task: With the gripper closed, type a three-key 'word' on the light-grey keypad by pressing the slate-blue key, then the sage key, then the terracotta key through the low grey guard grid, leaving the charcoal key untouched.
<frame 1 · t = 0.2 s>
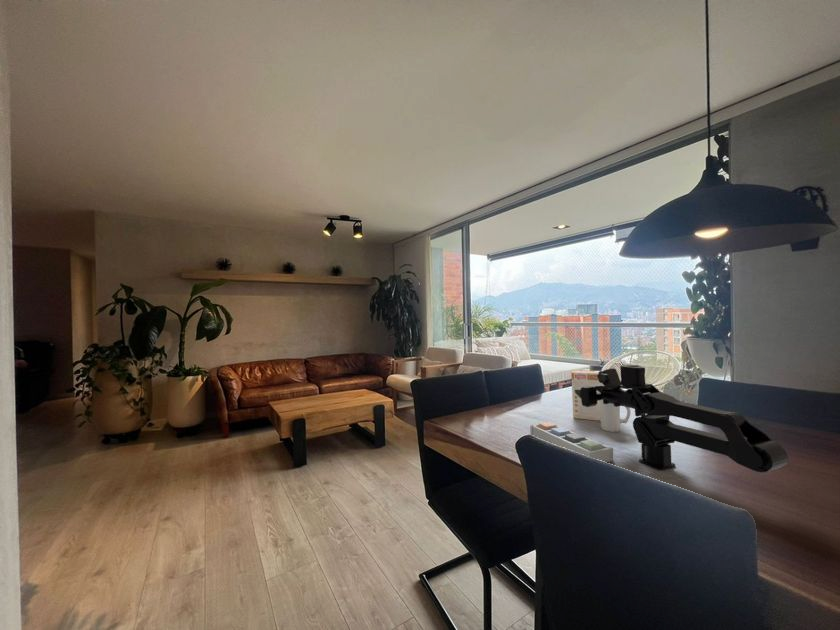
hand: (585, 389, 123), 17 cm above the table, tool horizontal, fingers open, 9 cm apart
coffeecake box: (593, 418, 143), on the table
keypad: (567, 447, 113), on the table
key blue: (560, 433, 116), point 4 cm above the table, slide at 0.0 cm
key charcoal: (575, 439, 110), point 4 cm above the table, slide at 0.0 cm
key sage: (591, 446, 104), point 4 cm above the table, slide at 0.0 cm
mug: (615, 430, 129), on the table
key terracotta: (547, 427, 123), point 4 cm above the table, slide at 0.0 cm
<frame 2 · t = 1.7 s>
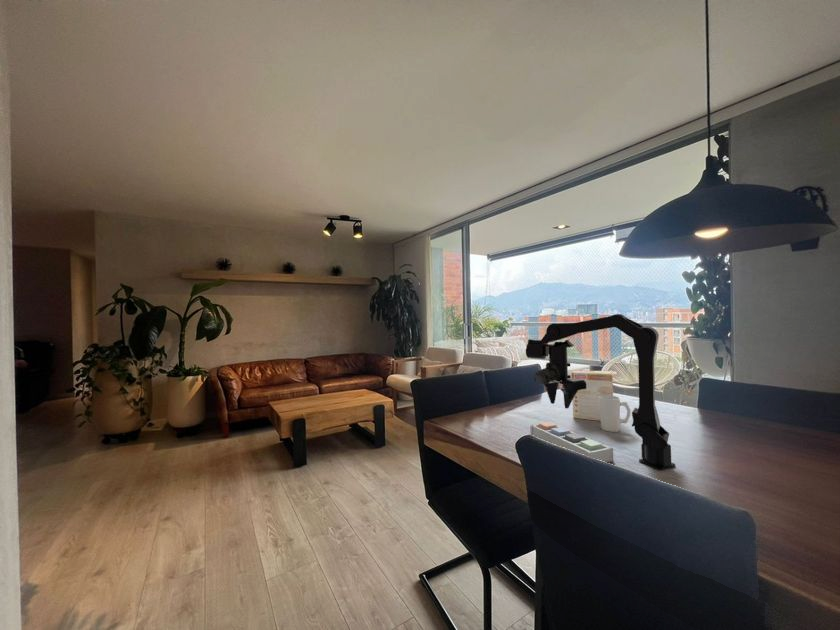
hand: (559, 405, 116), 13 cm above the table, tool pointing down, fingers open, 6 cm apart
nothing on the table moved.
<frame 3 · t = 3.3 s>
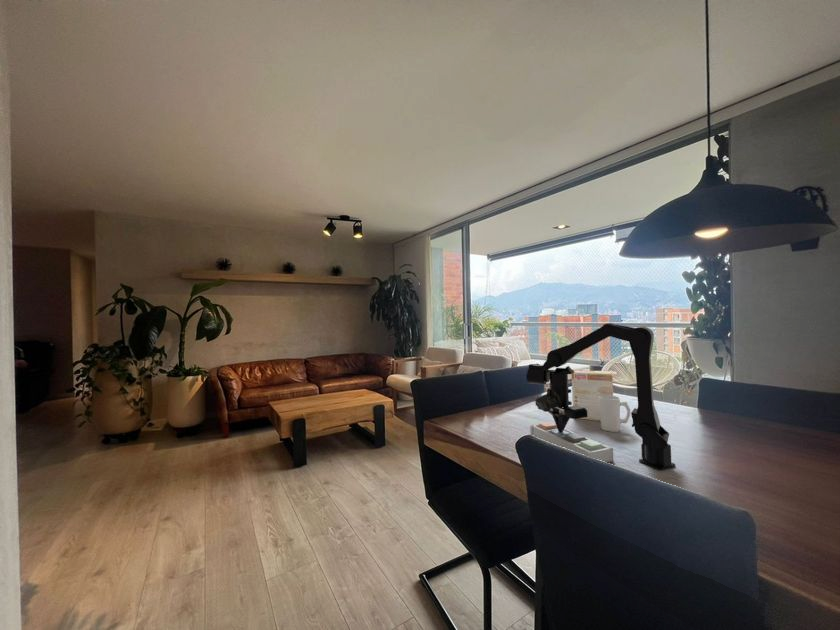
hand: (560, 432, 116), 4 cm above the table, tool pointing down, fingers closed, pressing on key blue
key blue: (560, 435, 116), point 3 cm above the table, slide at 0.8 cm, touching gripper
everything else where it was.
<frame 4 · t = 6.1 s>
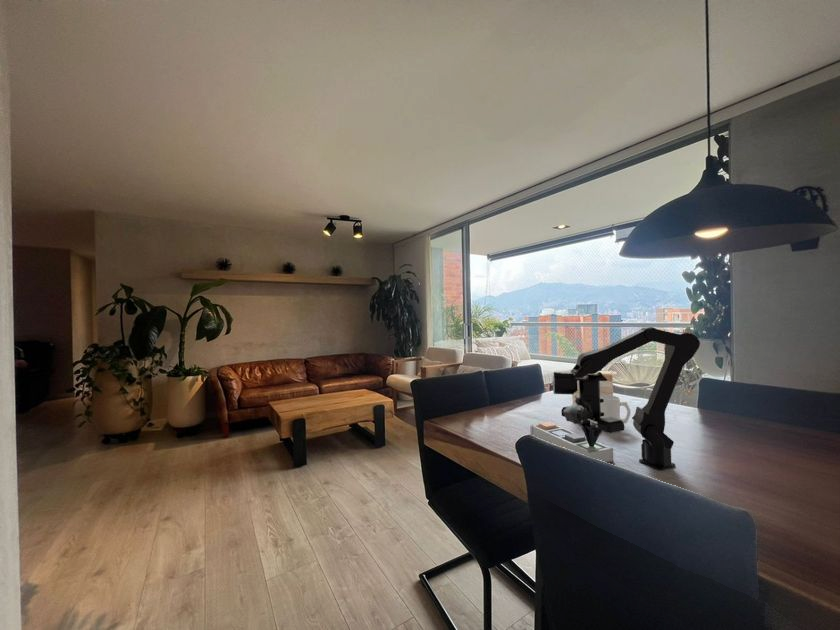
hand: (591, 446, 104), 4 cm above the table, tool pointing down, fingers closed, pressing on key sage
key blue: (560, 436, 116), point 3 cm above the table, slide at 1.1 cm
key sage: (591, 450, 104), point 3 cm above the table, slide at 1.1 cm, touching gripper
everything else where it was.
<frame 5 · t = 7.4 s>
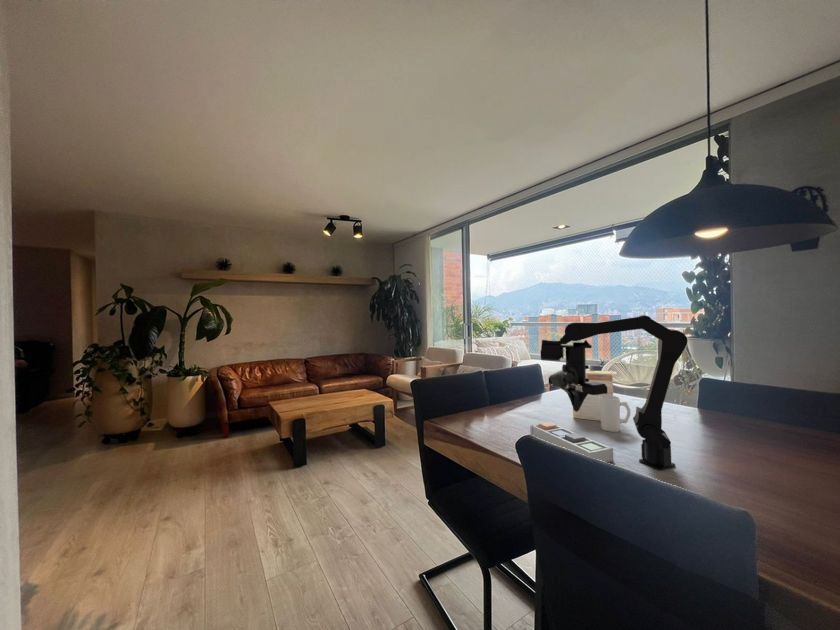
hand: (576, 410, 109), 13 cm above the table, tool pointing down, fingers closed
key sage: (591, 450, 104), point 3 cm above the table, slide at 1.2 cm
everything else where it was.
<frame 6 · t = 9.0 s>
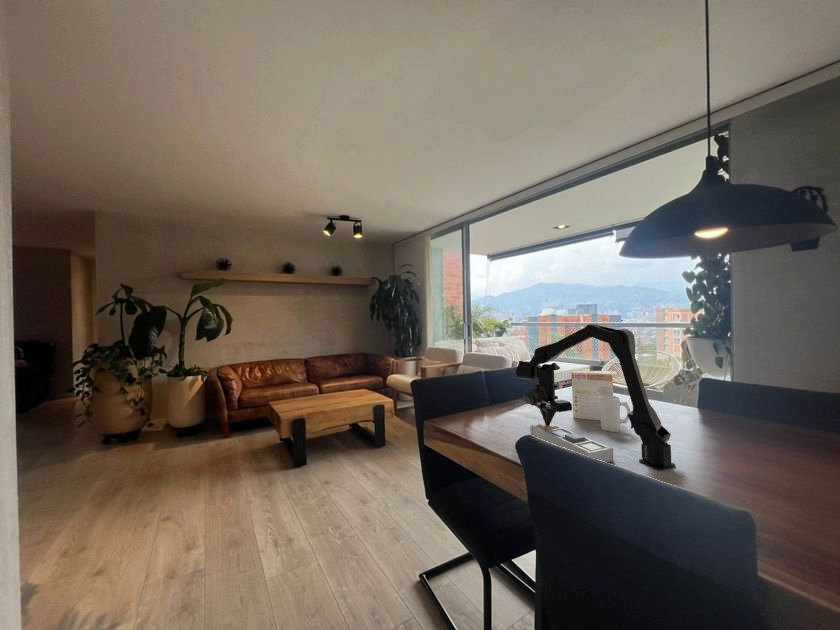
hand: (547, 425, 122), 5 cm above the table, tool pointing down, fingers closed, pressing on key terracotta
key terracotta: (547, 428, 123), point 3 cm above the table, slide at 0.4 cm, touching gripper
everything else where it was.
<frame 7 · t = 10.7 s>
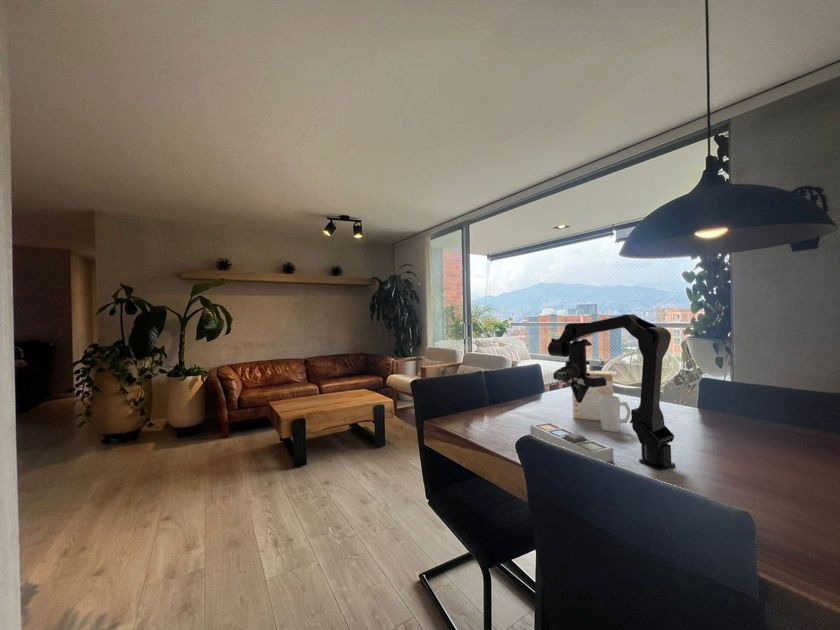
hand: (579, 402, 121), 13 cm above the table, tool pointing down, fingers closed
key terracotta: (547, 430, 123), point 3 cm above the table, slide at 1.1 cm
everything else where it was.
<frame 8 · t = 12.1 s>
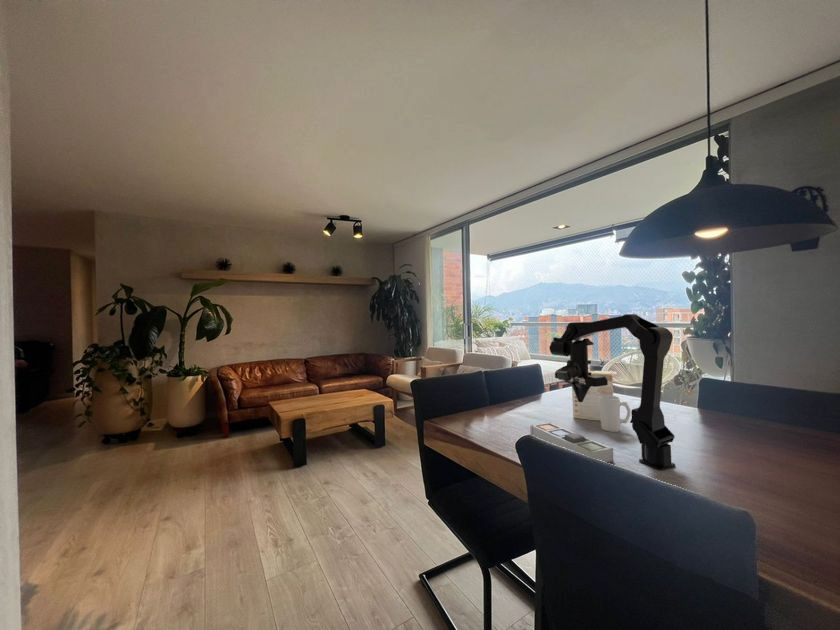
hand: (580, 401, 121), 13 cm above the table, tool pointing down, fingers closed
nothing on the table moved.
at the end: key blue slide at 1.1 cm; key sage slide at 1.2 cm; key terracotta slide at 1.1 cm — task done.
